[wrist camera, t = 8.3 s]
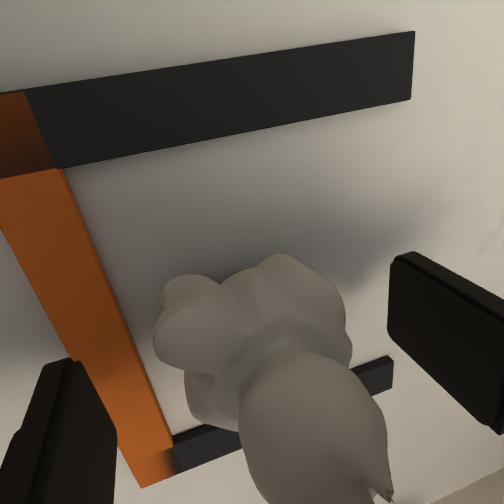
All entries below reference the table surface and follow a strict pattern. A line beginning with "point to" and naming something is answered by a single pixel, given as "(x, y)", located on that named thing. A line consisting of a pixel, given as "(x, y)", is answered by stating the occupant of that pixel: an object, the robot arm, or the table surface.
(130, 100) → the frame
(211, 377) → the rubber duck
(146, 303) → the table surface
